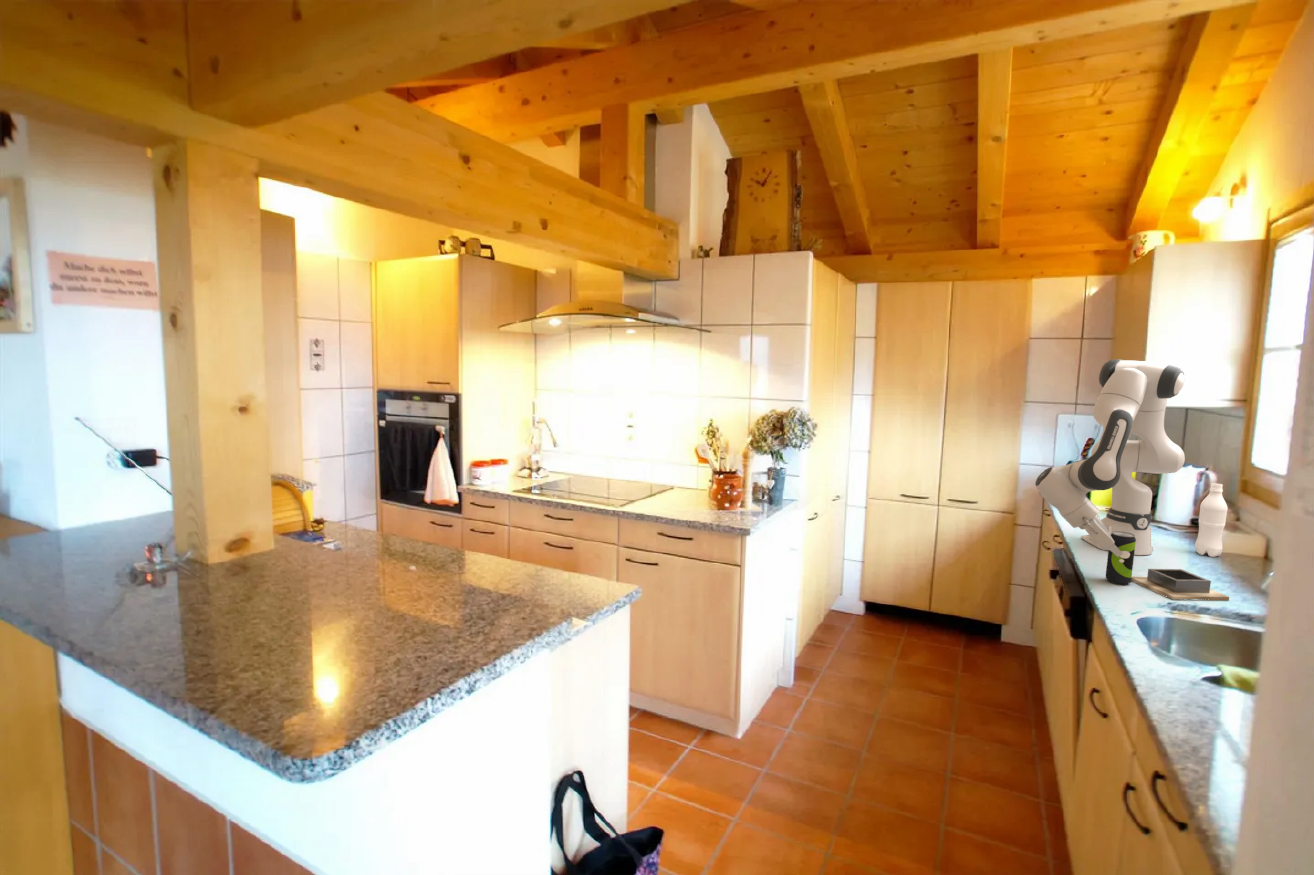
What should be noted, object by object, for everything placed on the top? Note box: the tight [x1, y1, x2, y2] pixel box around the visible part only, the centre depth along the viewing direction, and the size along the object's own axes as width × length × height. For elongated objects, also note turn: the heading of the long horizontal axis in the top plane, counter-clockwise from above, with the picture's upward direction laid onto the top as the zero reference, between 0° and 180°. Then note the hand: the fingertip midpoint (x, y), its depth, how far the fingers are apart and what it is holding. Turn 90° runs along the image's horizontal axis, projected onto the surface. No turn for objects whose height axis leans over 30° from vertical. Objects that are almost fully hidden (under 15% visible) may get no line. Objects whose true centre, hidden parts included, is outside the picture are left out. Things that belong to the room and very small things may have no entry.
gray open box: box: [1146, 568, 1212, 593], centre depth 183 cm, size 10×10×4 cm
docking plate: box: [1131, 576, 1230, 601], centre depth 184 cm, size 16×16×1 cm
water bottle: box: [1194, 482, 1229, 558], centre depth 217 cm, size 7×7×25 cm
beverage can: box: [1105, 531, 1136, 586], centre depth 189 cm, size 6×6×15 cm
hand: (1117, 550), depth 189 cm, fingers open, 8 cm apart
